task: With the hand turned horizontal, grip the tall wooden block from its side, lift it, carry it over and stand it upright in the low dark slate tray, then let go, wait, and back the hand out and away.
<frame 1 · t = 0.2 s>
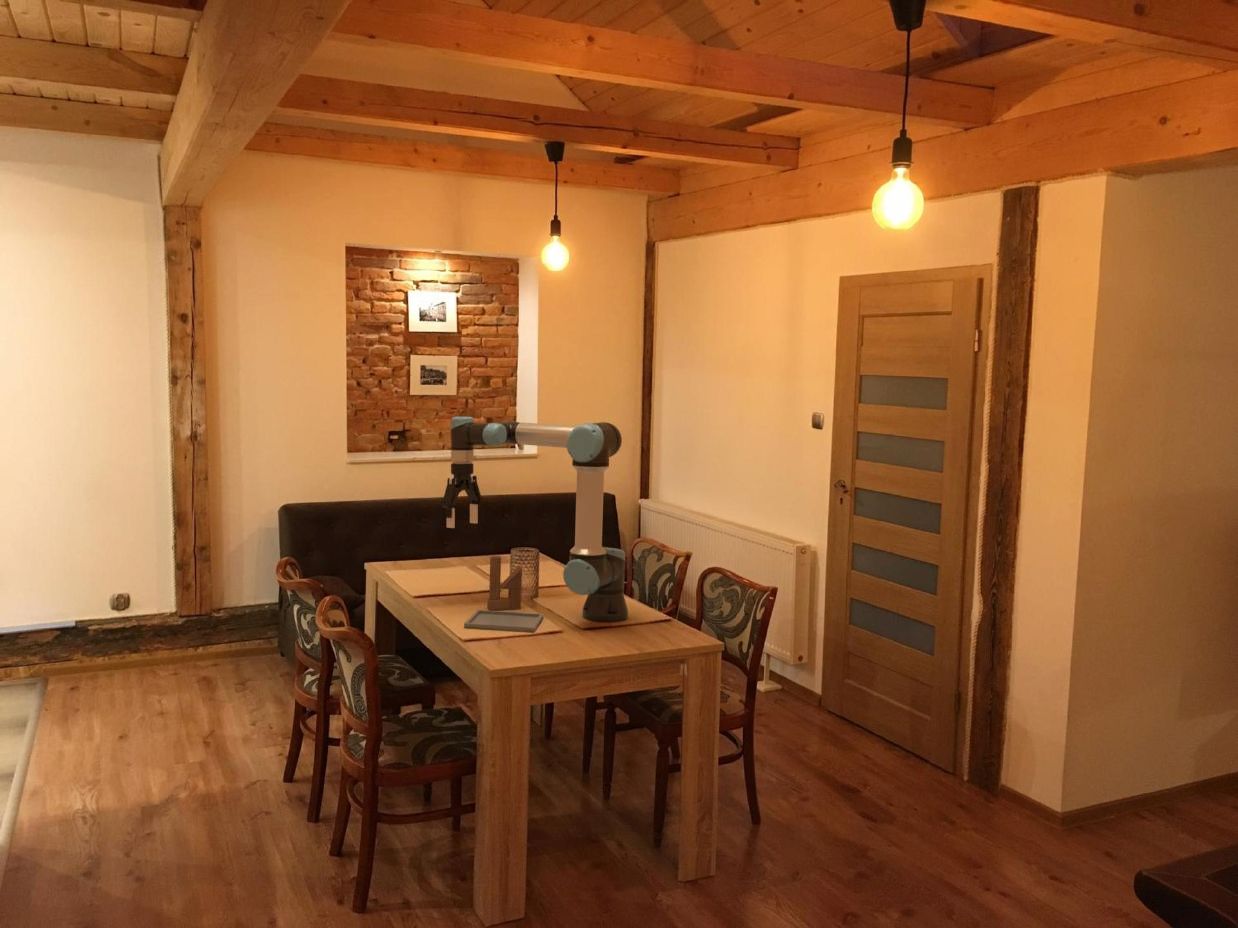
hand: (462, 525, 357), 27 cm above the table, tool pointing down, fingers open, 13 cm apart
slate tray: (504, 623, 338), on the table
wooden block: (504, 609, 357), on the table
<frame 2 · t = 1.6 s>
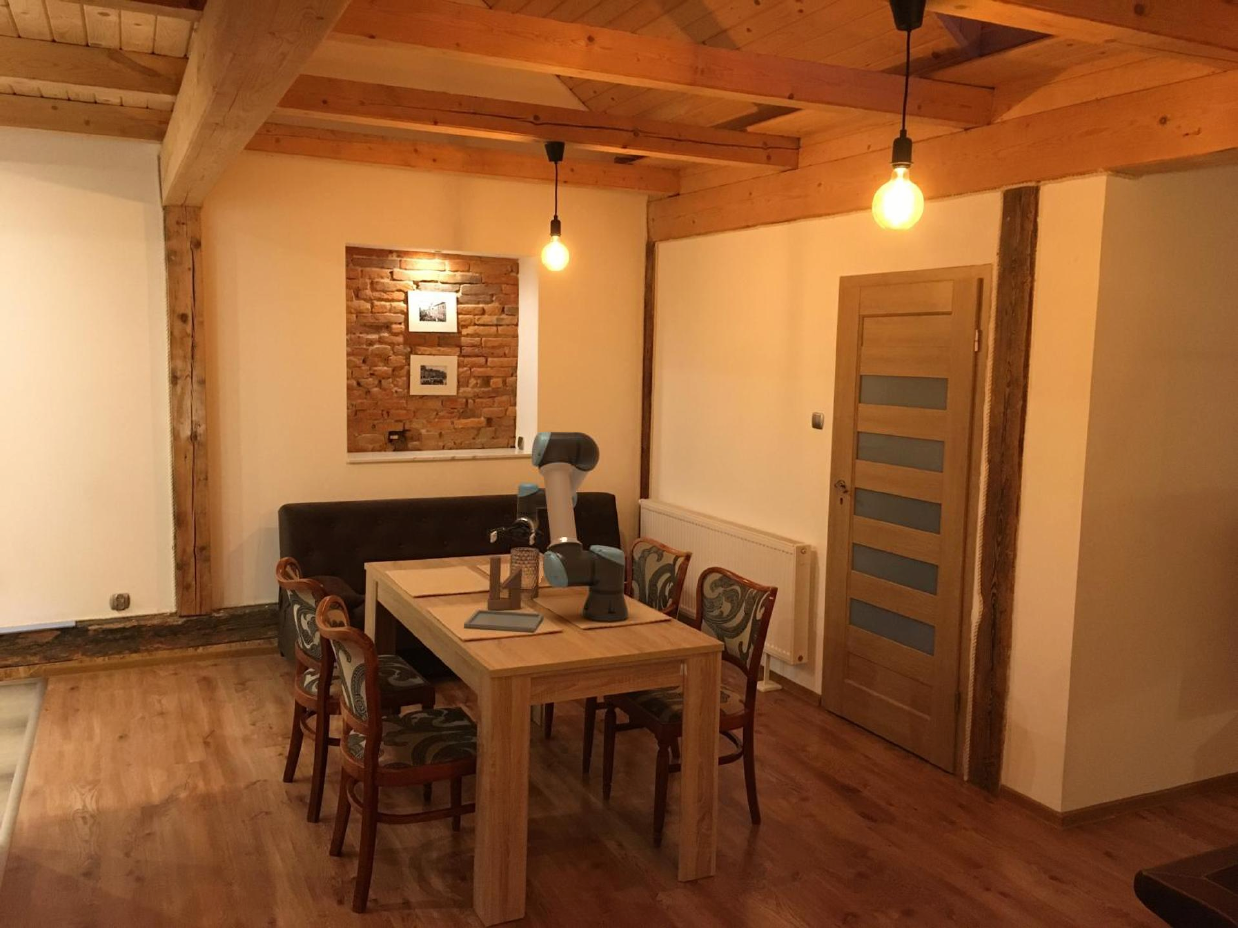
hand: (511, 539, 364), 22 cm above the table, tool horizontal, fingers open, 13 cm apart
nothing on the table moved.
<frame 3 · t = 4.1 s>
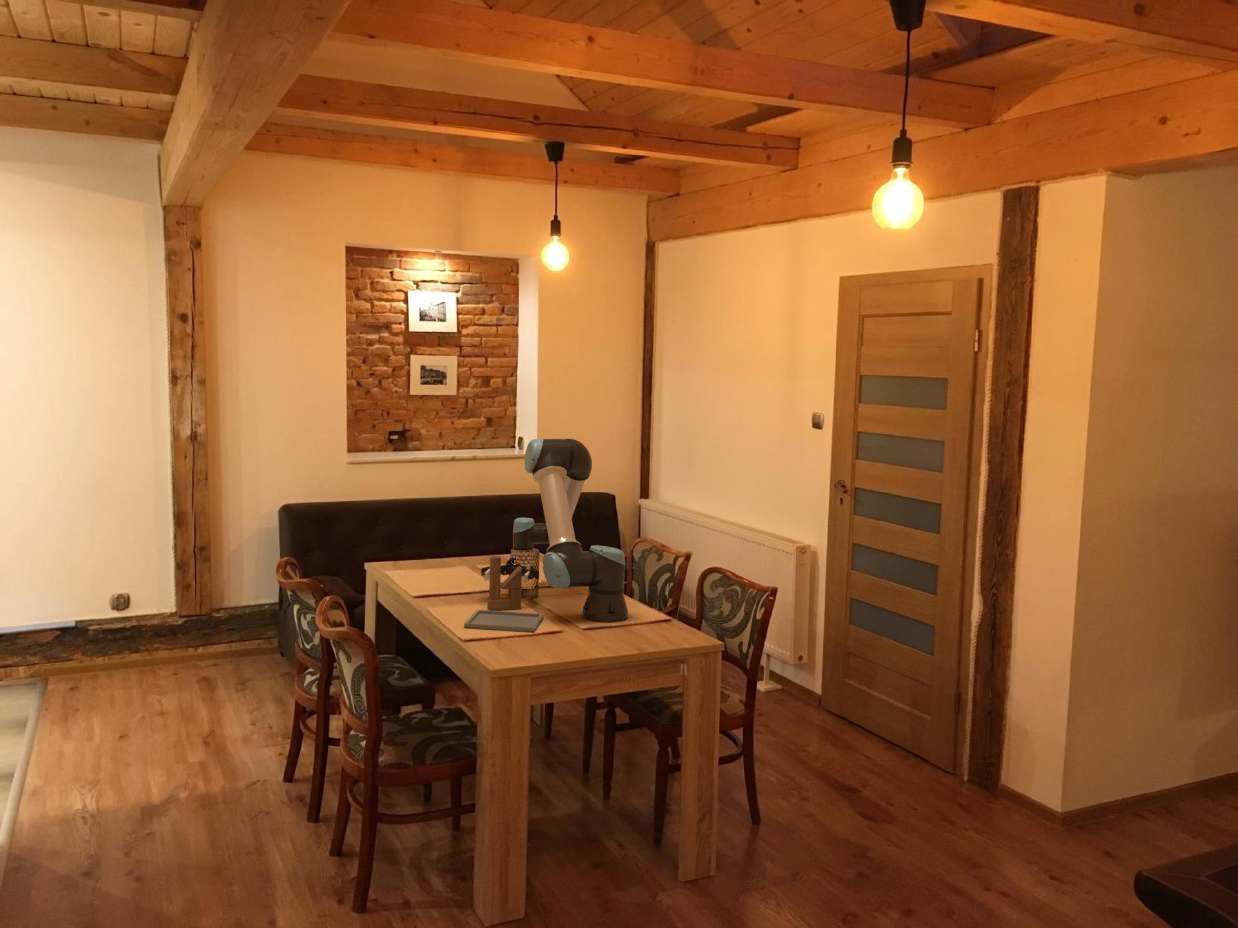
hand: (505, 577, 359), 10 cm above the table, tool horizontal, fingers open, 13 cm apart
nothing on the table moved.
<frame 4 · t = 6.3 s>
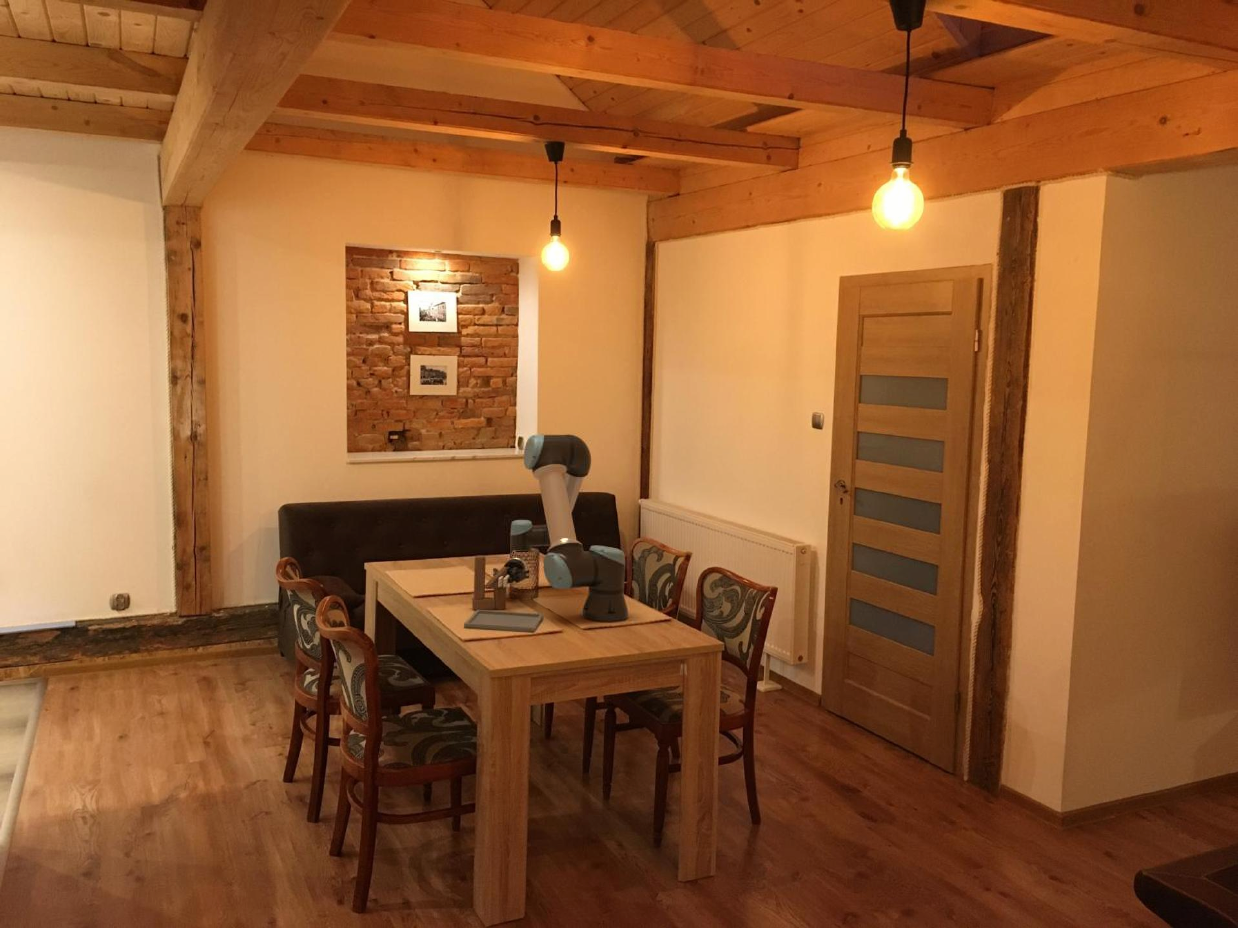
hand: (502, 582, 350), 10 cm above the table, tool horizontal, fingers closed on wooden block
wooden block: (488, 609, 356), on the table, touching gripper
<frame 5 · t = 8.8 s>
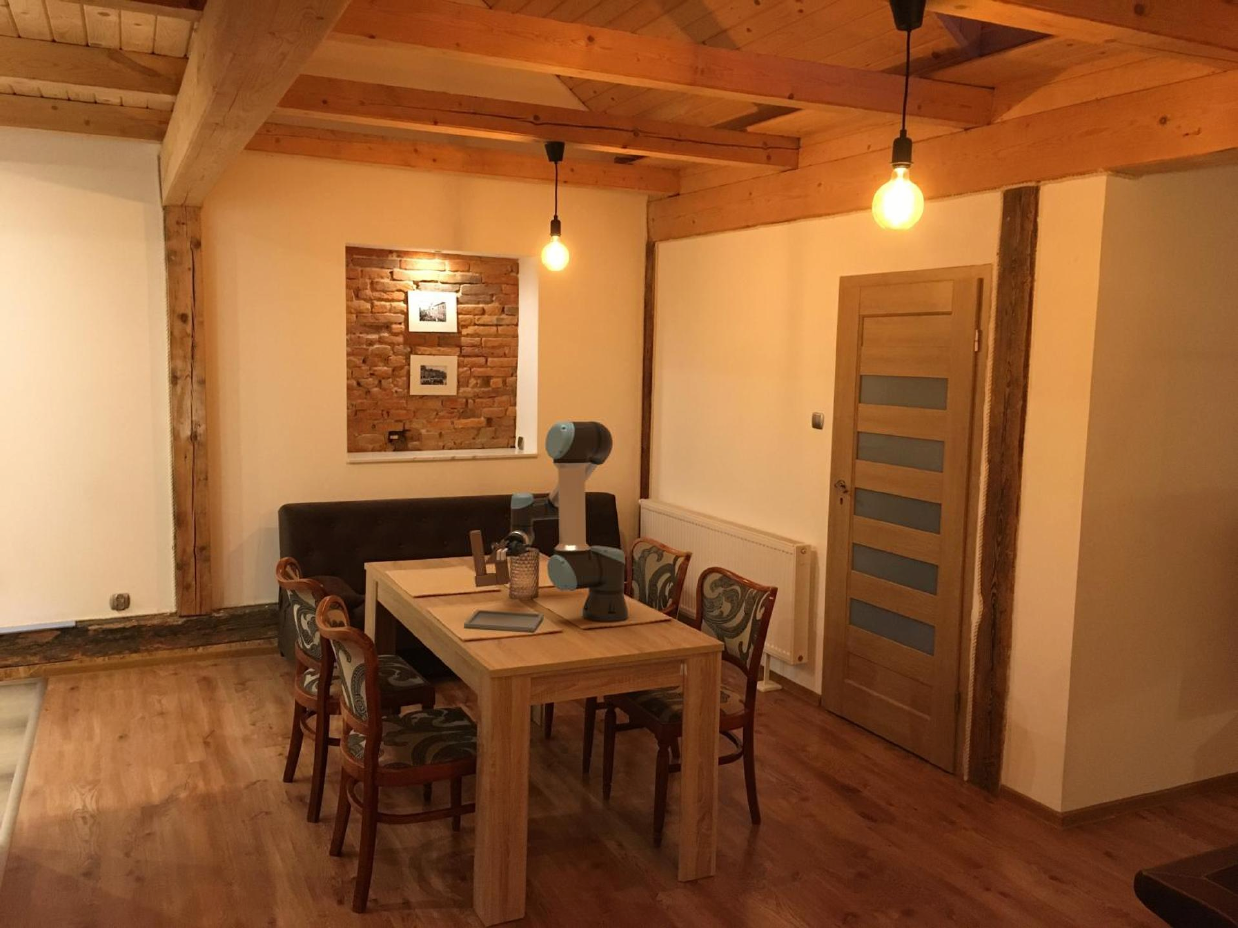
hand: (500, 555, 333), 22 cm above the table, tool horizontal, fingers closed on wooden block
wooden block: (493, 585, 342), point 11 cm above the table, touching gripper
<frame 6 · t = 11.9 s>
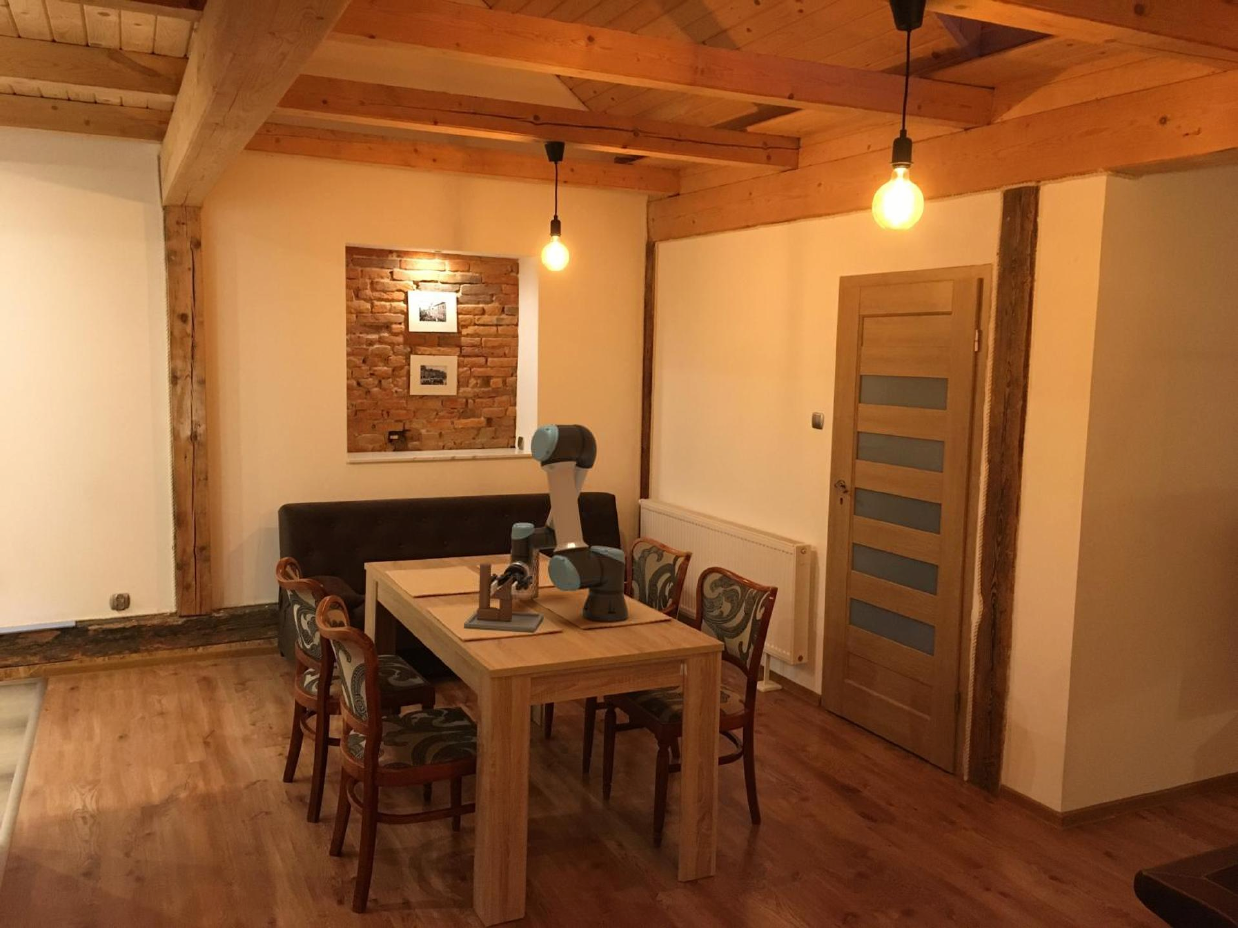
hand: (502, 589, 332), 12 cm above the table, tool horizontal, fingers open, 6 cm apart
wooden block: (494, 620, 339), resting in slate tray
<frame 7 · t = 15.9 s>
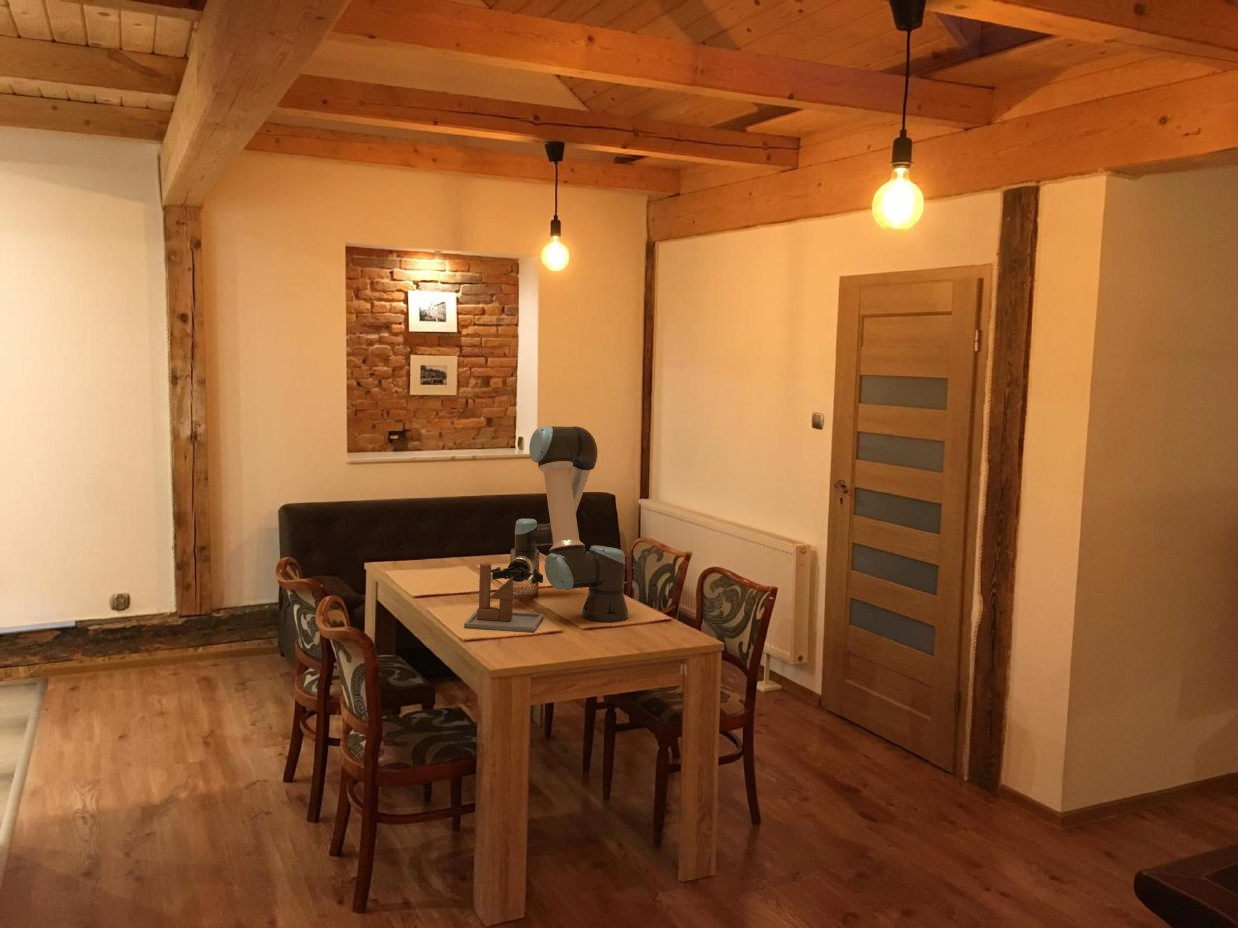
hand: (508, 582, 342), 12 cm above the table, tool horizontal, fingers open, 13 cm apart
nothing on the table moved.
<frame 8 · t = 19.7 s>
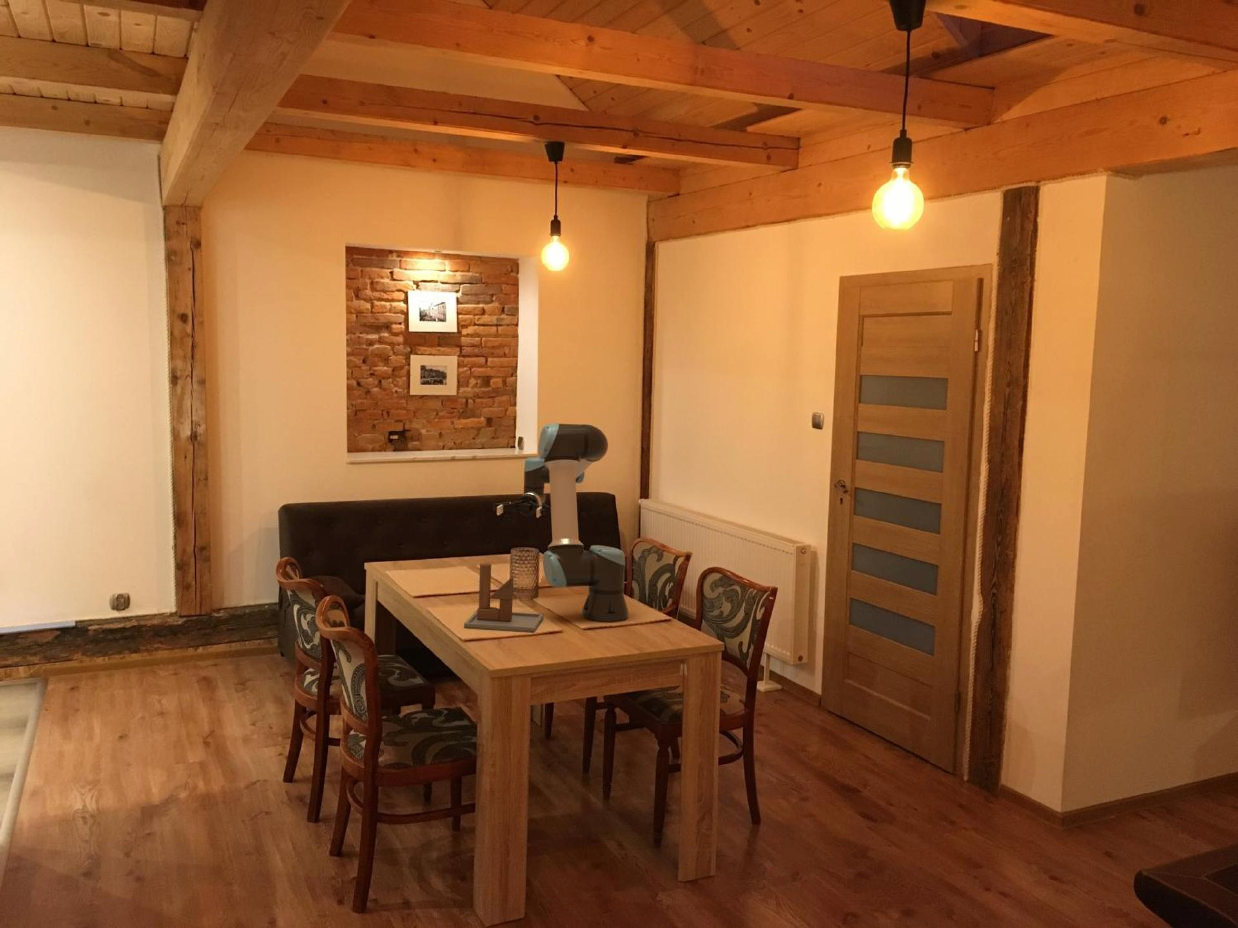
hand: (517, 512, 359), 32 cm above the table, tool horizontal, fingers open, 13 cm apart
nothing on the table moved.
at the end: wooden block inside the target area on the slate tray (3.7 cm from its centre), point 0.4 cm above the slate tray's base; wooden block tilted 0°; the gripper is holding nothing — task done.
